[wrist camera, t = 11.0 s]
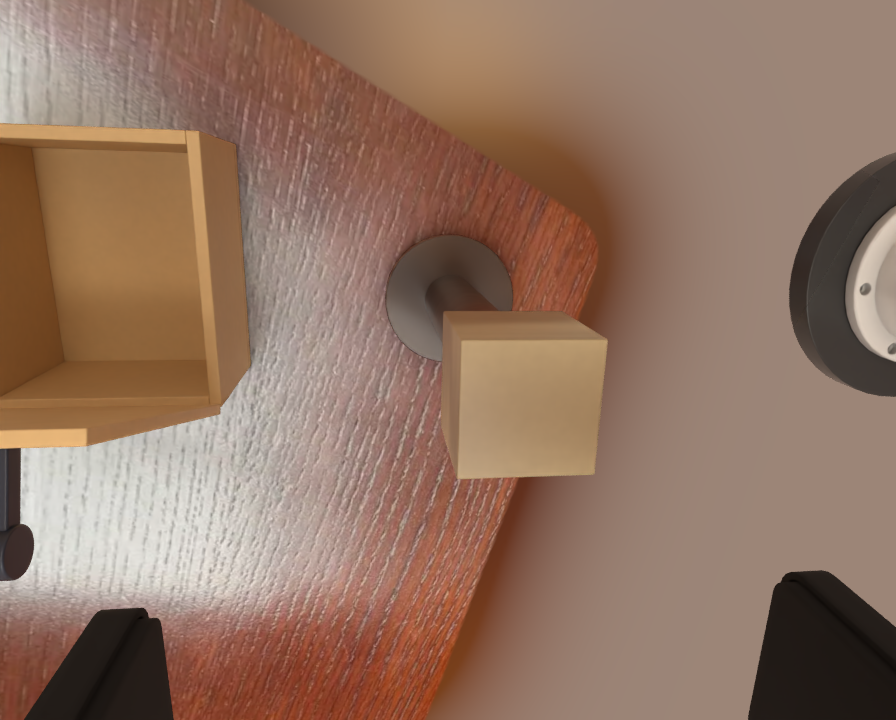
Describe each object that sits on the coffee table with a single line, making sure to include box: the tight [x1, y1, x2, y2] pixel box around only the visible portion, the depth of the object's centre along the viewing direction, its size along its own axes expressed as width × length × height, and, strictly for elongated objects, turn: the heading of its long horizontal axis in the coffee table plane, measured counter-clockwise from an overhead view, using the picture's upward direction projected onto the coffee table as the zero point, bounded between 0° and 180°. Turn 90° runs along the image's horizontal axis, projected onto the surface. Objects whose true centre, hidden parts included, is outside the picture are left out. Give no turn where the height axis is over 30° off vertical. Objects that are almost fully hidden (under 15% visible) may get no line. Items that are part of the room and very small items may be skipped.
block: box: [441, 311, 608, 479], centre depth 20 cm, size 4×4×4 cm
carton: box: [0, 123, 251, 408], centre depth 31 cm, size 13×11×8 cm
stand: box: [385, 234, 513, 362], centre depth 30 cm, size 8×8×16 cm
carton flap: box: [0, 404, 220, 581], centre depth 22 cm, size 14×11×5 cm
